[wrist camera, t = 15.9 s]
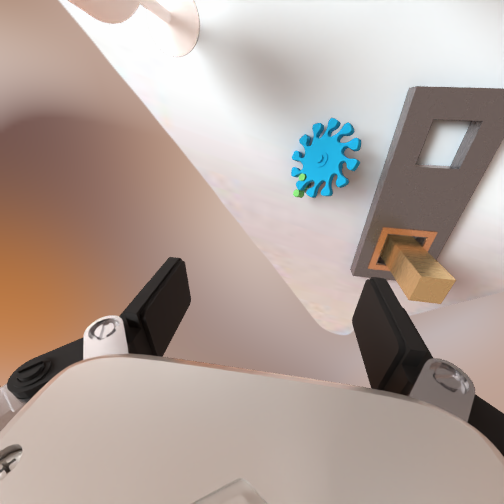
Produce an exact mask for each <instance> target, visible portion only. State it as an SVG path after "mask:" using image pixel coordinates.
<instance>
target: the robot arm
mask: <svg viewBox="0 0 504 504" xmlns="http://www.w3.org/2000/svg"><path fill="white" fill-rule="evenodd" d="M190 302H191V296H190V290H189V285H188V278H187V273H186V267H185V262H184V261H182V259H181V258H173V257H169V258H168V259H167V261H166V262H165V263H164V264H163V265H162V266H161V268H160V269H159V270H158V271H157V272H156V274H155V275H154V276H153V277H152V278H151V280H150V281H149V282H148V283H147V284H146V285H145V286H144V288H143V289H142V290H141V291H140V292H139V294H138V295H137V296H136V297H135V298H134V300H133V301H132V302H131V303H130V304H129V305H128V307H127V308H126V309H125V310H124V311H123V313H122V314H121V315H120V316H119V317H118V316H106V317H102V318H100V319H98V320H96V321H95V322H93V323H92V324H91V325H90V326H88V327H87V329H86V331H85V333H84V337H83V338H81V339H79V340H76V341H74V342H71V343H69V344H67V345H64V346H62V347H60V348H57V349H55V350H53V351H50V352H48V353H46V354H43V355H40V356H38V357H36V358H33V359H32V360H29V361H28V362H26V363H24V364H23V365H21V366H20V367H19V368H18V369H17V370H16V371H14V372H13V374H12V375H11V376H10V378H9V380H8V383H7V384H5V385H4V386H2V387H1V386H0V504H504V414H503V413H502V412H500V411H499V410H497V409H496V408H495V407H493V406H492V405H490V404H489V403H487V402H486V401H484V400H483V399H481V398H480V397H478V396H477V395H475V387H474V384H473V382H472V381H471V379H470V378H469V377H468V375H467V374H466V373H464V372H463V371H462V370H461V369H460V368H458V367H457V366H455V365H454V364H452V363H450V362H448V361H445V360H442V359H437V358H433V357H432V355H431V353H430V352H429V350H428V348H427V347H426V345H425V343H424V341H423V340H422V338H421V336H420V334H419V333H418V331H417V329H416V328H415V326H414V324H413V323H412V321H411V319H410V317H409V316H408V314H407V312H406V311H405V309H404V308H402V306H401V305H400V303H399V301H398V299H397V298H396V296H395V294H394V292H393V291H392V289H391V287H390V285H389V284H388V282H387V280H386V279H385V278H378V277H371V278H370V280H366V282H365V285H364V288H363V290H362V293H361V296H360V299H359V301H358V304H357V307H356V310H355V312H354V315H353V319H352V324H353V327H354V331H355V334H356V338H357V341H358V344H359V348H360V351H361V355H362V358H363V361H364V365H365V368H366V372H367V375H368V378H369V382H370V385H371V388H372V389H371V388H366V387H360V386H354V385H348V384H342V383H335V382H329V381H323V380H316V379H310V378H303V377H297V376H291V375H284V374H277V373H270V372H264V371H258V370H251V369H244V368H238V367H231V366H224V365H217V364H210V363H204V362H197V361H190V360H183V359H175V358H168V357H162V356H163V355H164V353H165V351H166V349H167V347H168V345H169V343H170V341H171V339H172V337H173V336H174V334H175V332H176V330H177V328H178V326H179V324H180V322H181V320H182V318H183V316H184V315H185V313H186V311H187V309H188V307H189V305H190Z"/></svg>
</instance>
